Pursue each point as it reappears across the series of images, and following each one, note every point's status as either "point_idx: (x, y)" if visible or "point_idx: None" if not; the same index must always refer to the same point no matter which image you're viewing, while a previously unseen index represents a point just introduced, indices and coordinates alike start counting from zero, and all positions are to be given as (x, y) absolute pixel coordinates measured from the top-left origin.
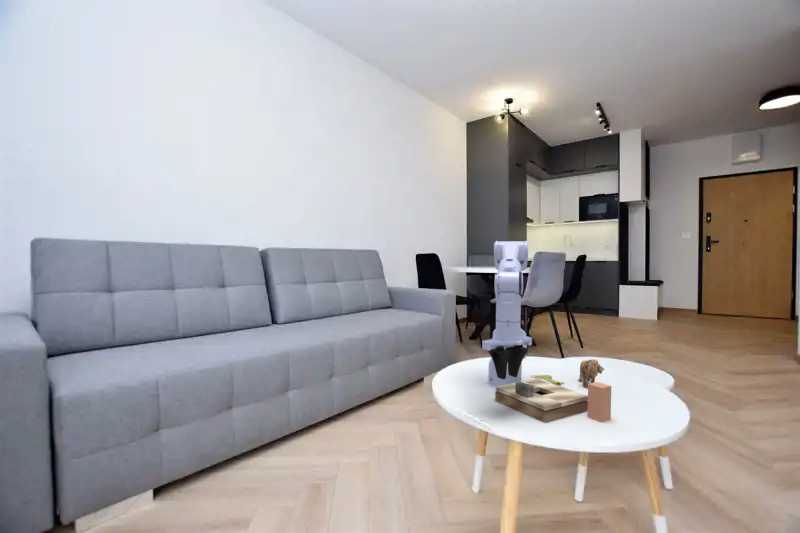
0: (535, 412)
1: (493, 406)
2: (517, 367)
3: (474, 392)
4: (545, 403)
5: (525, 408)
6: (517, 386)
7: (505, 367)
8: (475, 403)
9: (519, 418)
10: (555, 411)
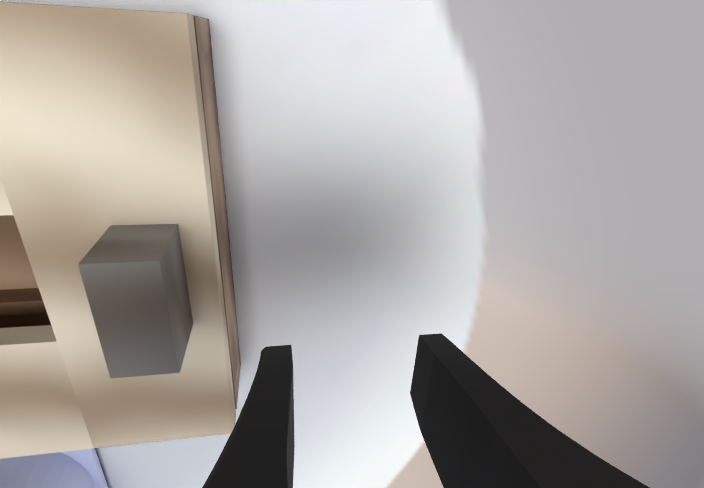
0: (208, 110)
1: (282, 334)
2: (282, 416)
3: None
4: (129, 65)
5: (217, 192)
6: (180, 341)
7: (505, 410)
8: (332, 383)
9: (275, 172)
10: None
